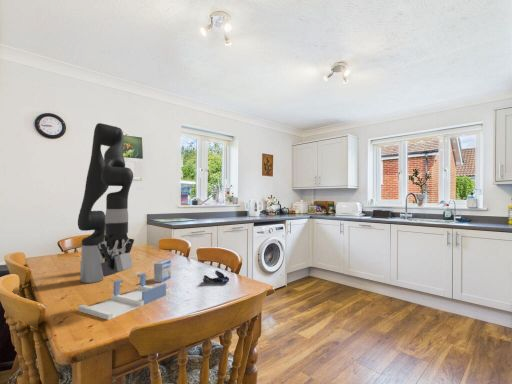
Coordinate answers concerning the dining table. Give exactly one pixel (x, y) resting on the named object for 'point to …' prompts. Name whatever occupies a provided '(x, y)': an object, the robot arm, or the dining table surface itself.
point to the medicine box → (162, 271)
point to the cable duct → (125, 300)
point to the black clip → (216, 280)
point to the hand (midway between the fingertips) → (116, 268)
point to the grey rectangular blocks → (117, 264)
